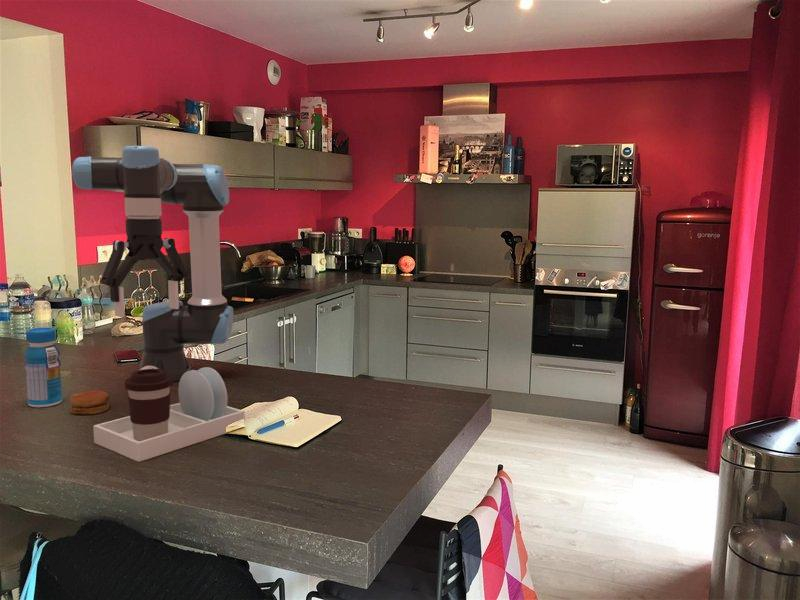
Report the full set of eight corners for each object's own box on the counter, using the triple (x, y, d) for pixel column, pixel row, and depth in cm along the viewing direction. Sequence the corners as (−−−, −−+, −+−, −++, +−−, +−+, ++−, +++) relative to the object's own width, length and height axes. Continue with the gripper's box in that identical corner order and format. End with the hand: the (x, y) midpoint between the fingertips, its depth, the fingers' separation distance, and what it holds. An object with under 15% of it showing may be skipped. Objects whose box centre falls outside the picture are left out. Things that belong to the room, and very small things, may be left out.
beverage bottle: (26, 409, 168) (21, 333, 165) (27, 401, 176) (22, 327, 173) (63, 405, 172) (58, 331, 169) (62, 397, 180) (58, 325, 177)
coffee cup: (183, 433, 150) (181, 369, 148) (150, 447, 141) (148, 380, 139) (151, 427, 154) (148, 364, 152) (117, 440, 145) (114, 374, 143)
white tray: (199, 412, 168) (199, 397, 168) (244, 427, 158) (244, 411, 157) (94, 442, 146) (93, 425, 146) (138, 461, 136) (138, 443, 135)
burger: (107, 414, 166) (106, 396, 166) (67, 417, 163) (66, 399, 163) (111, 403, 176) (111, 386, 175) (73, 406, 173) (72, 389, 172)
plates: (194, 413, 164) (193, 363, 163) (228, 424, 157) (226, 371, 155) (179, 418, 161) (177, 366, 159) (212, 429, 153) (211, 375, 151)
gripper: (181, 216, 157) (184, 303, 160) (79, 218, 137) (85, 317, 140) (201, 217, 152) (204, 307, 156) (98, 219, 132) (104, 322, 136)
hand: (147, 312), depth 148 cm, fingers open, 13 cm apart
